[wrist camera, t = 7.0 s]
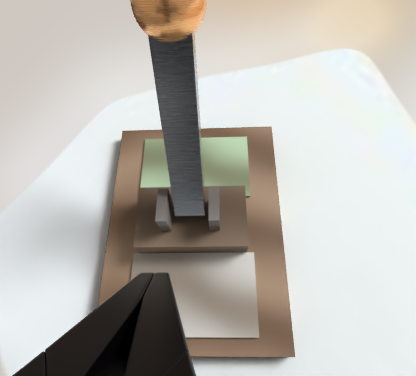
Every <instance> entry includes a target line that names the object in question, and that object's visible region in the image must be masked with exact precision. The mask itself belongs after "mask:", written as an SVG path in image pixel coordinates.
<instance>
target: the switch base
mask: <svg viewBox="0 0 416 376" xmlns="http://www.w3.org/2000/svg"><path fill="white" fill-rule="evenodd" d="M201 144H202V160H203V175H204V191H205V216H175V212H174V205H173V199H172V192H171V185H170V178H169V172H168V165H167V158H166V152H165V145H164V138H163V131H162V130H138V131H123V132H122V139H121V146H120V153H119V160H118V168H117V175H116V182H115V189H114V196H113V203H112V210H111V217H110V224H109V231H108V238H107V245H106V252H105V259H104V266H103V273H102V280H101V288H100V295H99V302H98V307H99V306H100V305H101V304H102V303H104V302H105V301H106V300H107V299H109V298H110V297H111V296H112V295H114V294H115V293H116V292H117V291H118V290H120V289H121V288H122V287H123V286H125V285H126V284H127V283H128V282H130V281H131V280H132V279H133V278H135V277H136V276H137V275H138V274H140V273H154V274H155V273H159V272H167V273H169V276H170V279H171V283H172V287H173V291H174V295H175V299H176V302H177V306H178V310H179V314H180V318H181V322H182V326H183V329H184V333H185V337H186V341H187V345H188V349H189V353H190V356H216V357H295V351H294V342H293V332H292V322H291V312H290V303H289V293H288V283H287V274H286V264H285V254H284V245H283V235H282V225H281V215H280V206H279V196H278V186H277V177H276V167H275V157H274V147H273V138H272V128H271V127H242V128H207V129H201Z"/></svg>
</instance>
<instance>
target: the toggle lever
mask: <svg viewBox="0 0 416 376" xmlns="http://www.w3.org/2000/svg"><path fill="white" fill-rule="evenodd" d="M130 1H131V7H132V11H133V14H134V17H135V19H136V21H137V23H138V24H139V26H140V27H141V28H142V29H143V31H144V32H145V33H146V34H147V35H148V36H149V44H150V50H151V57H152V64H153V70H154V77H155V84H156V91H157V98H158V104H159V111H160V118H161V125H162V131H163V138H164V145H165V152H166V158H167V165H168V172H169V178H170V185H171V192H172V199H173V205H174V212H175V216H205V191H204V175H203V160H202V144H201V129H200V113H199V97H198V82H197V66H196V52H195V35H194V33H195V32H196V31H197V30H198V28H199V27H200V25H201V23H202V21H203V18H204V15H205V11H206V0H130Z"/></svg>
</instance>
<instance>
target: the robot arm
mask: <svg viewBox="0 0 416 376" xmlns="http://www.w3.org/2000/svg"><path fill="white" fill-rule="evenodd" d="M13 376H196V374H195V370H194V367H193V363H192V360H191V356H190V353H189V349H188V345H187V341H186V337H185V333H184V329H183V326H182V322H181V318H180V314H179V310H178V306H177V302H176V299H175V295H174V291H173V287H172V283H171V279H170V276H169V273H167V272H159V273H155V274H154V273H140V274H138V275H137V276H136V277H135V278H133V279H132V280H131V281H130V282H128V283H127V284H126V285H125V286H123V287H122V288H121V289H120V290H118V291H117V292H116V293H115V294H114V295H112V296H111V297H110V298H109V299H107V300H106V301H105V302H104V303H102V304H101V305H100V306H99V307H97V308H96V309H95V310H94V311H92V312H91V313H90V314H89V315H88V316H86V317H85V318H84V319H83V320H81V321H80V322H79V323H78V324H76V325H75V326H74V327H73V328H71V329H70V330H69V331H68V332H67V333H65V334H64V335H63V336H62V337H60V338H59V339H58V340H57V341H55V342H54V343H53V344H52V345H50V346H49V347H48V348H47V349H46V350H45V352H42V353H40V354H39V355H38V356H37V357H35V358H34V359H33V360H32V361H30V362H29V363H28V364H27V365H25V366H24V367H23V368H22V369H20V370H19V371H18V372H16V373H15V374H14V375H13Z"/></svg>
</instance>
